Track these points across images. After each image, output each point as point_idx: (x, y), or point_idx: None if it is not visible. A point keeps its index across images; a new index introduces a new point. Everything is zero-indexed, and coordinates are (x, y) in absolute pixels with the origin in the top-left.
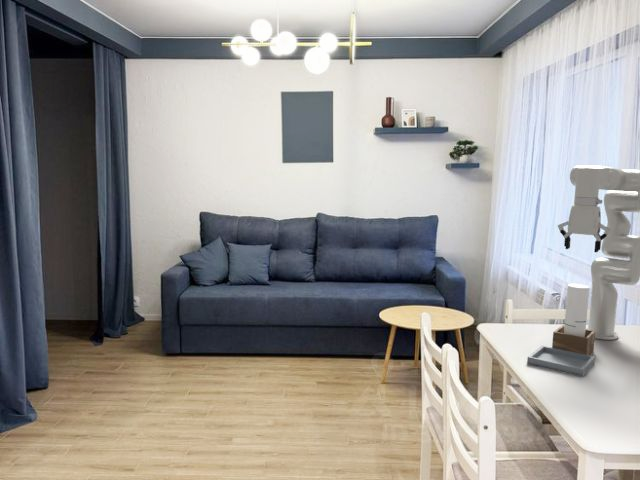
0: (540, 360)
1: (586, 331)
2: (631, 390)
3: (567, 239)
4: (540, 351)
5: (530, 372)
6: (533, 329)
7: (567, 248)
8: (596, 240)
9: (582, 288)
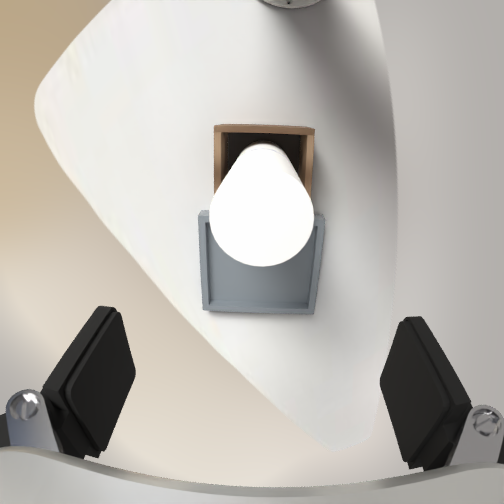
0: (229, 310)
1: (289, 133)
2: (388, 314)
3: (100, 448)
4: (206, 246)
5: (226, 336)
6: (127, 39)
7: (133, 376)
8: (421, 461)
9: (288, 257)
